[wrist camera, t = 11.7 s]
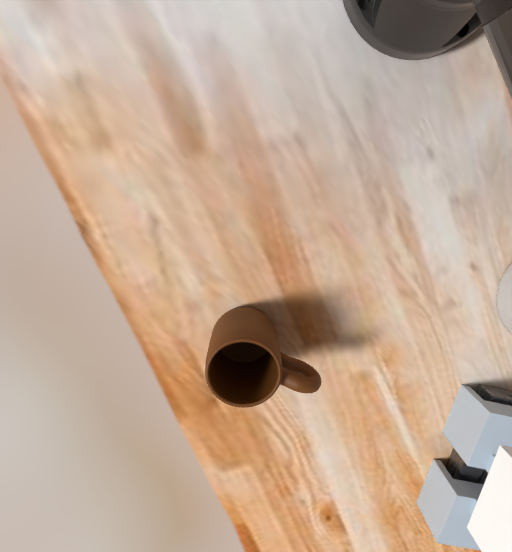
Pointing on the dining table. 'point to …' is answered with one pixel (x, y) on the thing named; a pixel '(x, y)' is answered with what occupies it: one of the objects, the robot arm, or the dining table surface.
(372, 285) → the dining table surface
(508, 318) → the cylinder vase
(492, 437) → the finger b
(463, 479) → the rail
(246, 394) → the mug
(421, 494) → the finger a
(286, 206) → the dining table surface
